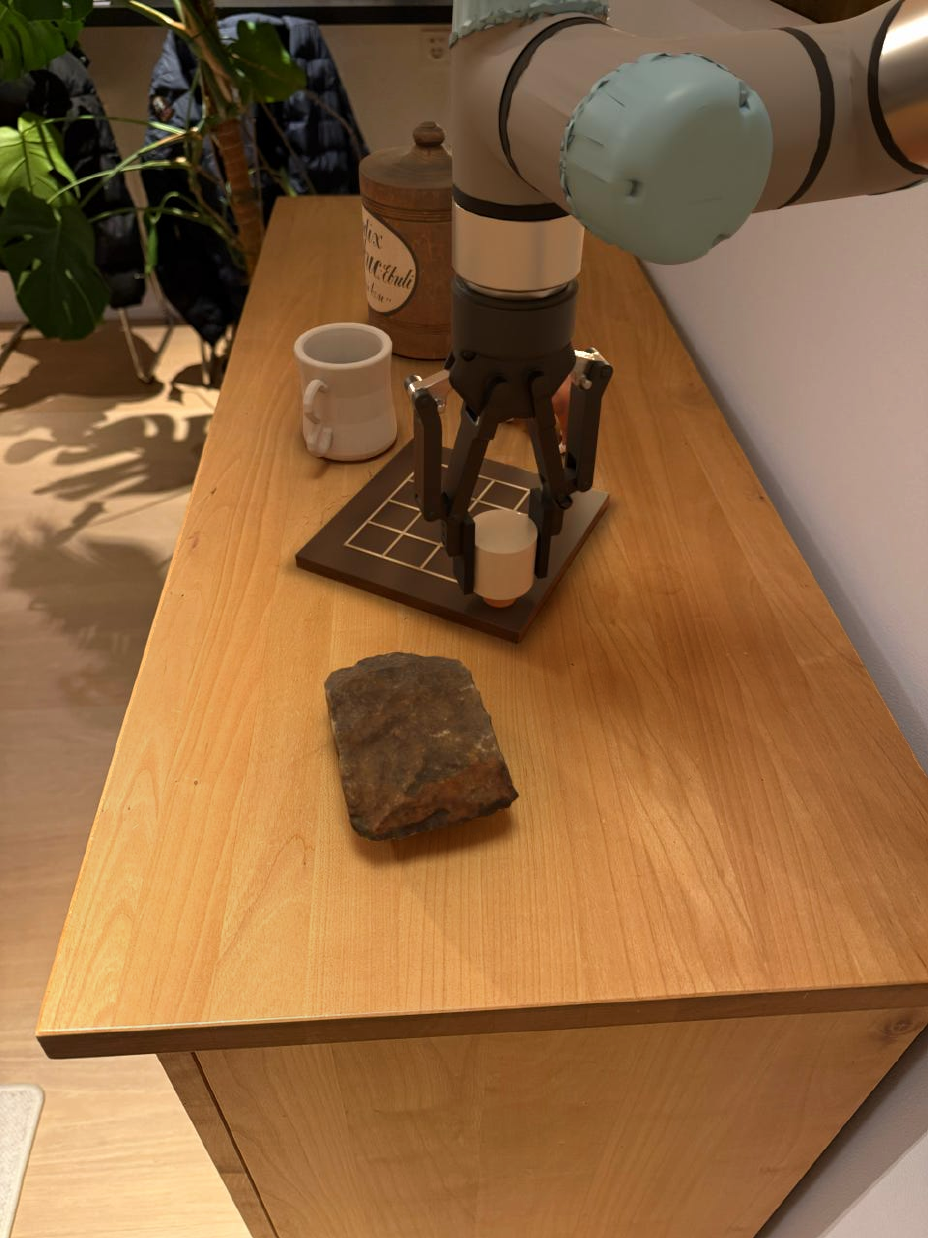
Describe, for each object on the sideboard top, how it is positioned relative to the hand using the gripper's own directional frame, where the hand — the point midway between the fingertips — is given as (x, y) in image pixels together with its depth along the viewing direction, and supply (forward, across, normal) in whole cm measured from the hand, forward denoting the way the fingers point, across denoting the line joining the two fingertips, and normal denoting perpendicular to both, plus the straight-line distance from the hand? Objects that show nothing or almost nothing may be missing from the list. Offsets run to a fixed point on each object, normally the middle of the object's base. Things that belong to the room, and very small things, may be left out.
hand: (499, 574), depth 69 cm
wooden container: (+4, -9, -47) cm, 48 cm away
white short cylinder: (0, 0, 0) cm, 0 cm away
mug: (+4, +6, -26) cm, 27 cm away
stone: (+4, +11, +13) cm, 17 cm away
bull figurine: (+4, -13, -24) cm, 27 cm away
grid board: (+3, 0, -10) cm, 10 cm away
